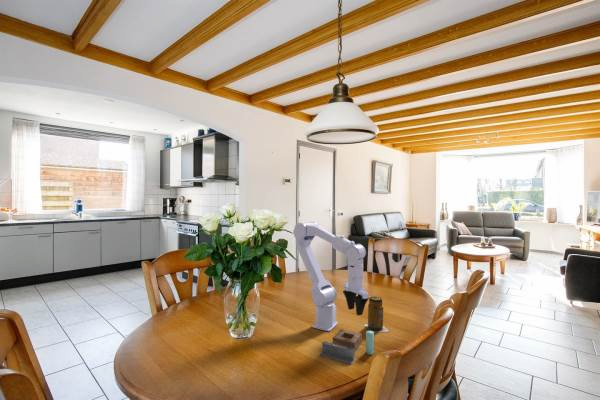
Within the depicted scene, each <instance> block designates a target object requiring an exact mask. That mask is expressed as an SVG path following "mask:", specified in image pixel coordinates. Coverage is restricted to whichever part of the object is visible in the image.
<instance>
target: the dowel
mask: <svg viewBox="0 0 600 400" xmlns="http://www.w3.org/2000/svg"><path fill="white" fill-rule="evenodd" d="M365 341H366V342H365V353H366V354H367V355H370V356H371V355H374V354H373V353H375V352H374V349H375V345H374V344H375V333H374V332H373V331H370V330H367V331H365Z"/></svg>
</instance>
